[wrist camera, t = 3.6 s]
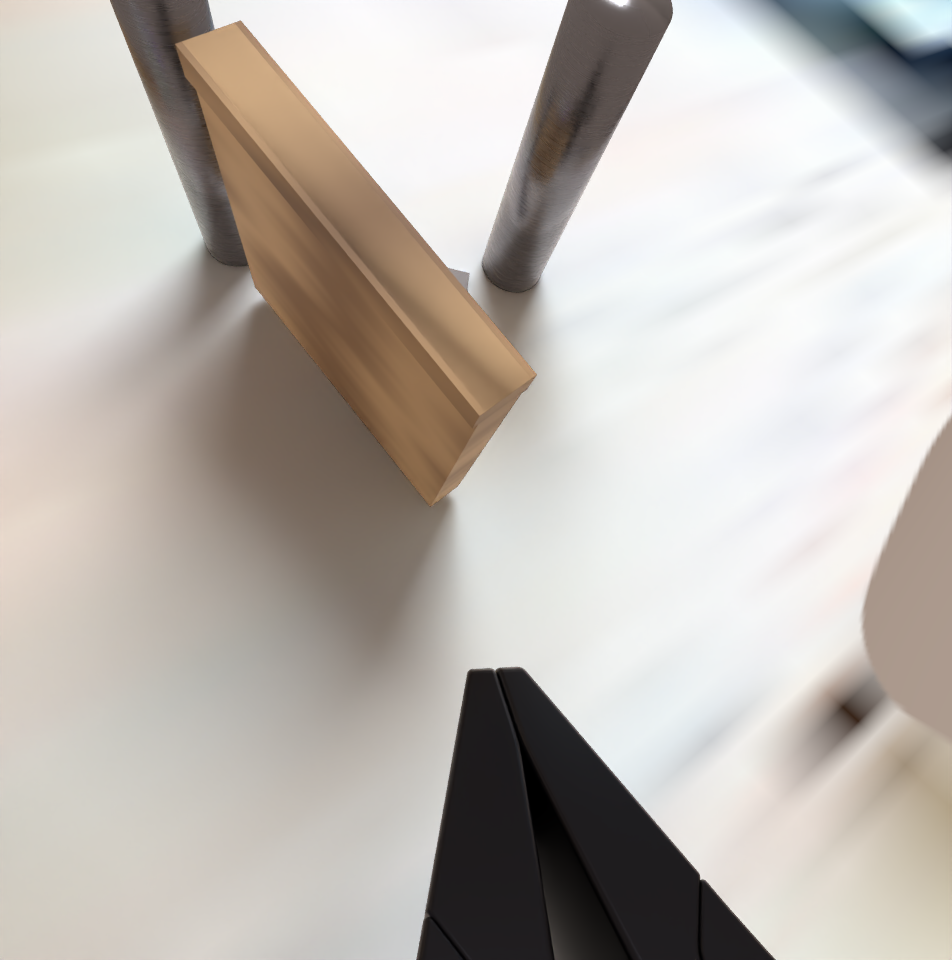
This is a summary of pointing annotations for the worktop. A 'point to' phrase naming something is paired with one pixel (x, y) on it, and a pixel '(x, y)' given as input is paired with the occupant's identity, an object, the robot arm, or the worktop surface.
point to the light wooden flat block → (352, 270)
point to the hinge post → (182, 111)
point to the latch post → (570, 129)
